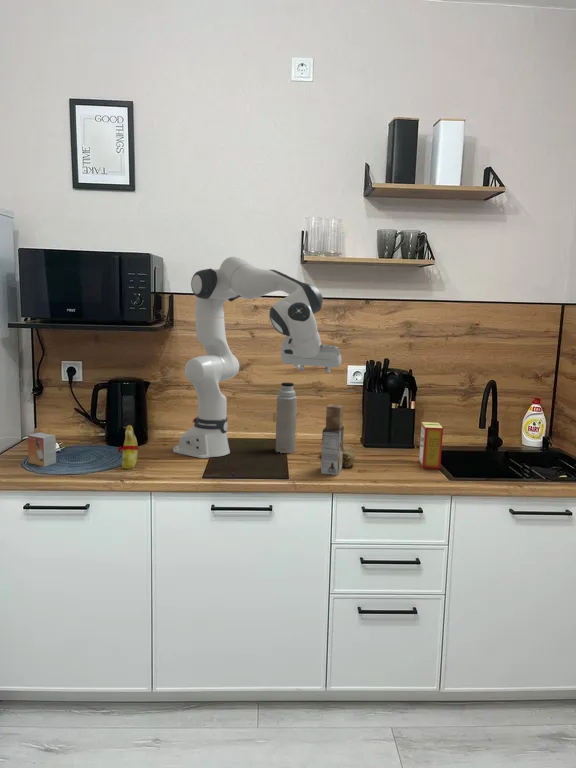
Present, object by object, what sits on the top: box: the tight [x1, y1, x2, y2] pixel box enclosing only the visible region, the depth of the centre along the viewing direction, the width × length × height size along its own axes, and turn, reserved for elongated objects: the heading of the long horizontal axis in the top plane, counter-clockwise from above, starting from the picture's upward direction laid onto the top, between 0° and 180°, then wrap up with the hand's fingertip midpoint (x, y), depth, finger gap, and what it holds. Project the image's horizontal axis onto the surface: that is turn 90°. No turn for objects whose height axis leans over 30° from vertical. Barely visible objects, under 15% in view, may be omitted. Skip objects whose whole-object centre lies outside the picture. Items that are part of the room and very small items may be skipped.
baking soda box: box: [418, 421, 444, 470], centre depth 221 cm, size 10×6×16 cm
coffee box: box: [320, 425, 345, 476], centre depth 209 cm, size 9×6×16 cm
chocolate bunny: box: [116, 424, 139, 470], centre depth 208 cm, size 7×11×15 cm, turn 4°
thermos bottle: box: [275, 382, 298, 454], centre depth 232 cm, size 8×8×28 cm
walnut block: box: [325, 403, 344, 430], centre depth 208 cm, size 5×5×8 cm
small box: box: [27, 432, 57, 467], centre depth 208 cm, size 8×6×10 cm
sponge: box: [342, 442, 356, 468], centre depth 224 cm, size 13×8×20 cm
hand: (314, 370), depth 199 cm, fingers open, 8 cm apart
